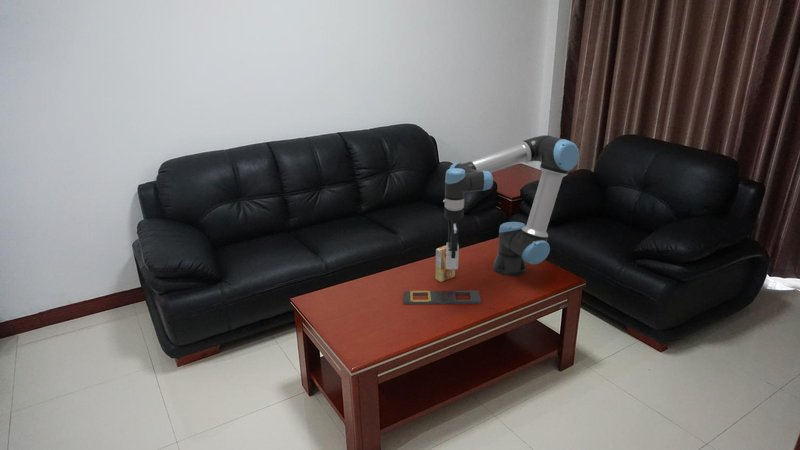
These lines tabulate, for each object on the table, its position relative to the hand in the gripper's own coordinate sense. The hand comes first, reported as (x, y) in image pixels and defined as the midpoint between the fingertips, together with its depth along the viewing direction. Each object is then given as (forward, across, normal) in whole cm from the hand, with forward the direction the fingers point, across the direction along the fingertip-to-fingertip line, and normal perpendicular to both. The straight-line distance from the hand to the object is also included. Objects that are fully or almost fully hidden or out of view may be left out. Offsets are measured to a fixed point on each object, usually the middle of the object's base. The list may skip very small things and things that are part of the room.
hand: (451, 261), depth 202 cm
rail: (+17, 0, -4) cm, 18 cm away
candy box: (+17, -19, 0) cm, 26 cm away
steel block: (+2, 0, 0) cm, 2 cm away
